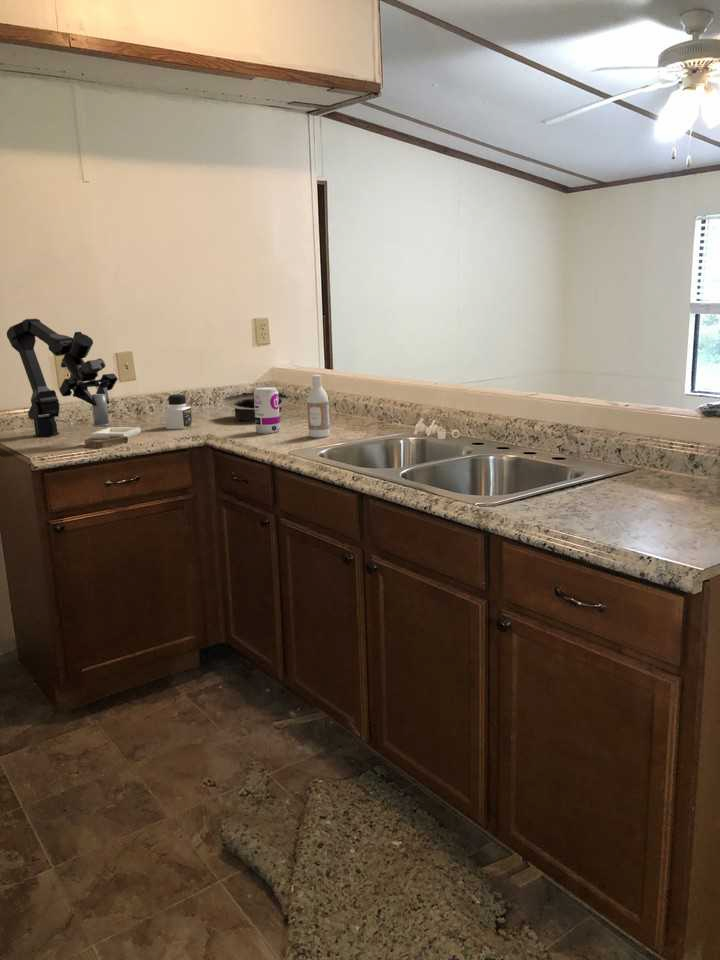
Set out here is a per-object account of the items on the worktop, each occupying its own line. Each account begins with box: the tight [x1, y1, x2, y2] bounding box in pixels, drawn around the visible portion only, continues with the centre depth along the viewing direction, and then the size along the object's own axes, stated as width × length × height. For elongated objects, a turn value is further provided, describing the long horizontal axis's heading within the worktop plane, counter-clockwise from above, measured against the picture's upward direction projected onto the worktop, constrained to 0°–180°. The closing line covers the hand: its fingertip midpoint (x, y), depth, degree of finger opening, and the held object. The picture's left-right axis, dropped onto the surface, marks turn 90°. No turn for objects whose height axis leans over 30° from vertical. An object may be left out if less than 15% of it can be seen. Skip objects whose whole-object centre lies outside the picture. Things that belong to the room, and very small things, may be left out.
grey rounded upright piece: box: [91, 393, 112, 428], centre depth 252 cm, size 6×6×10 cm
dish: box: [90, 426, 142, 440], centre depth 268 cm, size 12×12×2 cm
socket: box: [84, 435, 129, 449], centre depth 253 cm, size 8×11×2 cm
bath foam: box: [306, 374, 330, 439], centre depth 255 cm, size 7×7×20 cm
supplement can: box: [253, 386, 281, 435], centre depth 267 cm, size 8×8×15 cm
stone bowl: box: [223, 391, 290, 423], centre depth 297 cm, size 25×25×9 cm
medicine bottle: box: [164, 393, 193, 430], centre depth 281 cm, size 7×7×12 cm
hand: (102, 403), depth 250 cm, fingers closed on grey rounded upright piece, 5 cm apart
